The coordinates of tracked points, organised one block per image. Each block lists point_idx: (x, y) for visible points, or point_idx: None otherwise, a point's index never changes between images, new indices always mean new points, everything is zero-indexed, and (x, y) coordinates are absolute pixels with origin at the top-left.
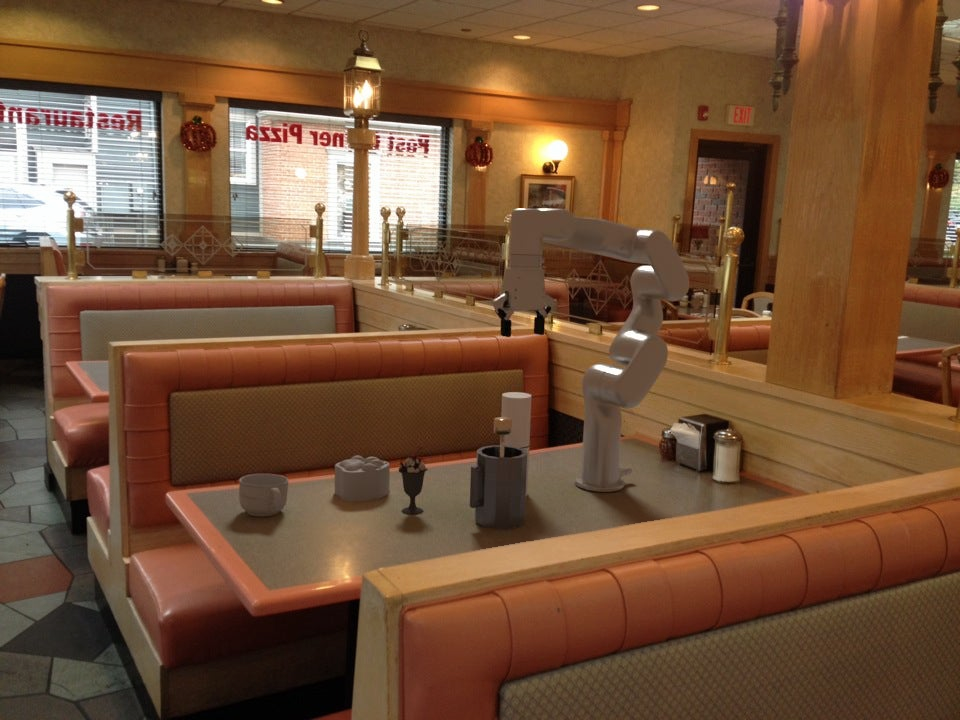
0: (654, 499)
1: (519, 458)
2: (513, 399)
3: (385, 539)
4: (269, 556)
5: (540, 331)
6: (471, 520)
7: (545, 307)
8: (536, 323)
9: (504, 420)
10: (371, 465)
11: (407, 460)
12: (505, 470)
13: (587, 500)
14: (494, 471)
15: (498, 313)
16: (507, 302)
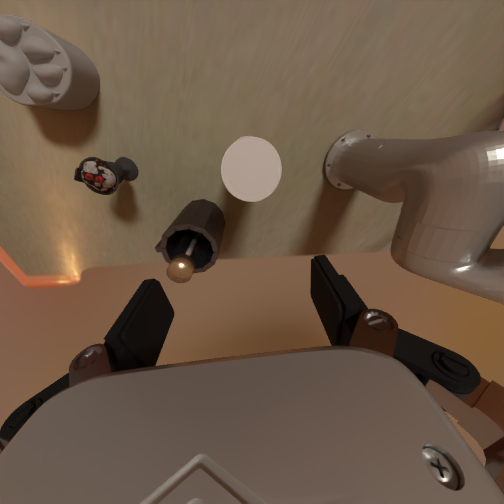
0: (359, 218)
1: (201, 271)
2: (232, 194)
3: (99, 227)
4: (5, 229)
5: (314, 298)
6: (179, 211)
7: (433, 391)
8: (325, 300)
9: (178, 278)
10: (39, 98)
11: (83, 179)
12: None
13: (304, 200)
14: None
15: (54, 394)
16: (75, 460)
